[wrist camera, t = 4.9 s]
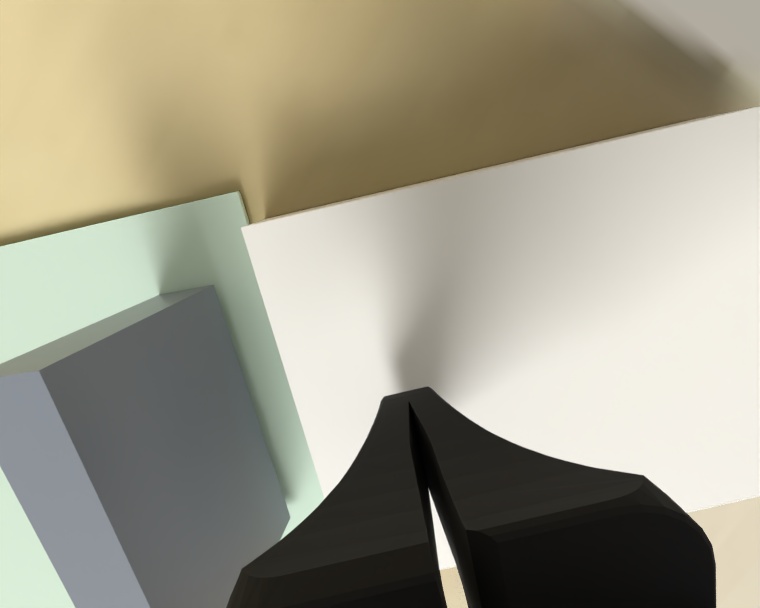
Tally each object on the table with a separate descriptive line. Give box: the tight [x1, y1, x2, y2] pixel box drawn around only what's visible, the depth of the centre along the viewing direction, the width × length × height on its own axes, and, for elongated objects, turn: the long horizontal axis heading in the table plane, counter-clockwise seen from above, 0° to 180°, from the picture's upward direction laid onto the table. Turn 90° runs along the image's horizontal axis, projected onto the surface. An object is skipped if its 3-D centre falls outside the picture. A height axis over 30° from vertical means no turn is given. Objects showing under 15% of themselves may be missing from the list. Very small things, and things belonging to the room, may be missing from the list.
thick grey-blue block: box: [0, 285, 291, 608], centre depth 12 cm, size 6×9×2 cm
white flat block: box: [241, 106, 760, 570], centre depth 14 cm, size 14×12×3 cm
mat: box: [0, 191, 324, 608], centre depth 15 cm, size 16×14×1 cm
